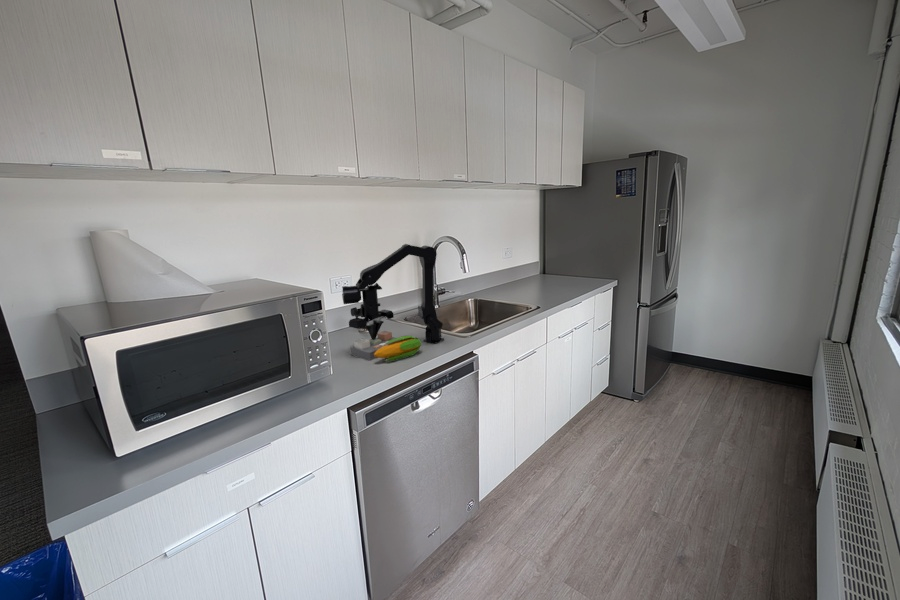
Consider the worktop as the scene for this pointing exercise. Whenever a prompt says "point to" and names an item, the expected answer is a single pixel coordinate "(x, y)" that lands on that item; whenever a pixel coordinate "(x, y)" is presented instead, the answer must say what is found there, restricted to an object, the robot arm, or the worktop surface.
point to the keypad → (369, 350)
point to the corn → (399, 348)
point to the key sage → (375, 341)
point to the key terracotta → (384, 335)
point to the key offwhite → (362, 344)
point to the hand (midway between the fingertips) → (373, 339)
